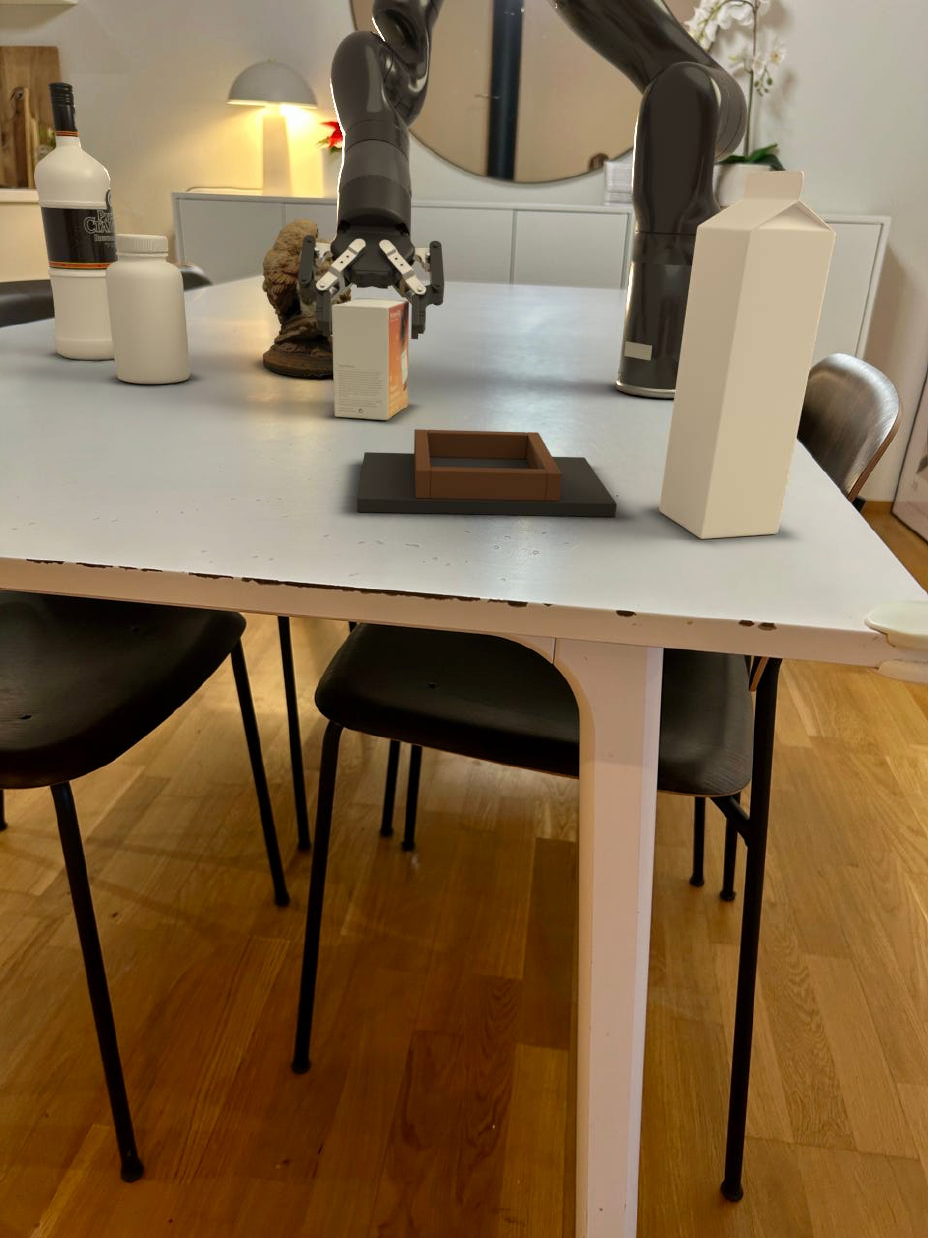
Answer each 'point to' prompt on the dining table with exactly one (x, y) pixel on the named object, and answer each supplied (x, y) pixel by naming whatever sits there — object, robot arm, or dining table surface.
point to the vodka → (76, 236)
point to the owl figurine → (296, 307)
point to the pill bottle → (147, 312)
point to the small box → (370, 357)
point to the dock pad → (481, 477)
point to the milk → (745, 359)
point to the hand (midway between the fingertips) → (370, 332)
